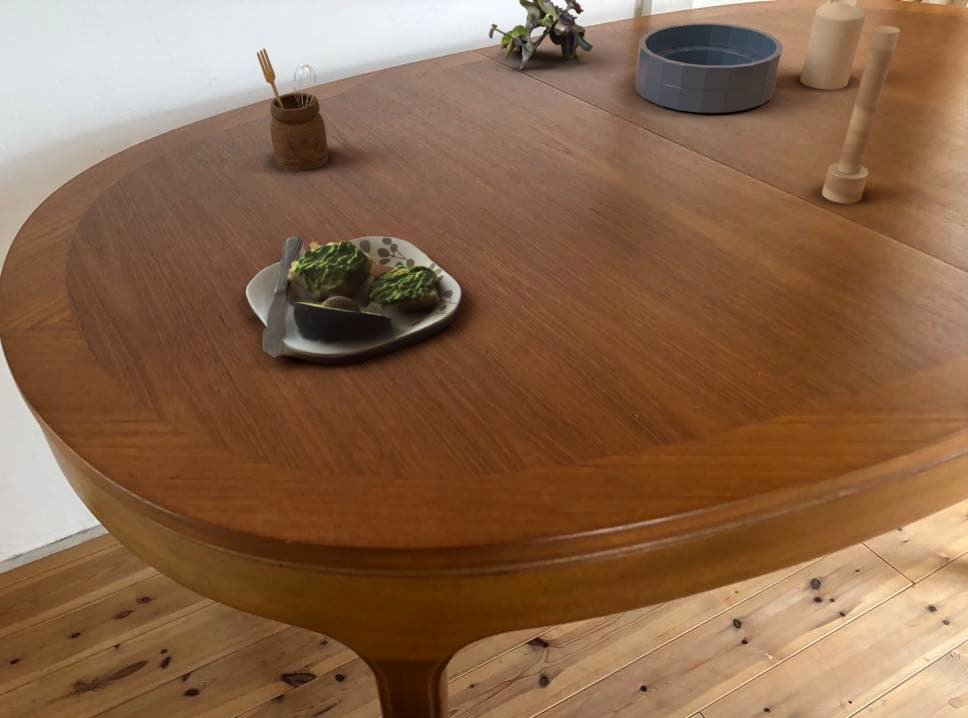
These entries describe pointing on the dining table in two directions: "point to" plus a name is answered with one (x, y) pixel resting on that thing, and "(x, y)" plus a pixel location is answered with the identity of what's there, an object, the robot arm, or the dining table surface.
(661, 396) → the dining table surface
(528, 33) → the passion flower
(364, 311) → the avocado toast plate
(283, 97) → the utensil holder
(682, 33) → the bowl
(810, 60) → the cream bottle
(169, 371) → the dining table surface
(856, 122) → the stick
